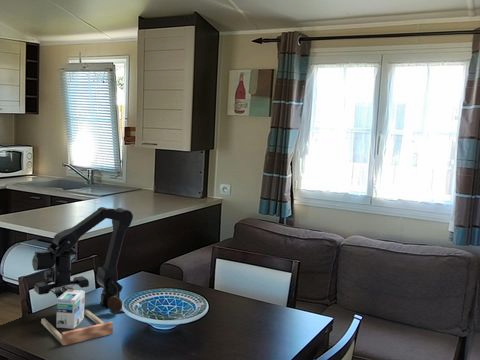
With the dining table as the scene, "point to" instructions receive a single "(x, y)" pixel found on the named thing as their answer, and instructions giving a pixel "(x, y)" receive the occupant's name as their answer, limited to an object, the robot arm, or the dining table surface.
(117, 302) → the dark brown rounded lump
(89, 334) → the frame
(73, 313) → the light bulb box
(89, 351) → the dining table surface
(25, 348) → the dining table surface
